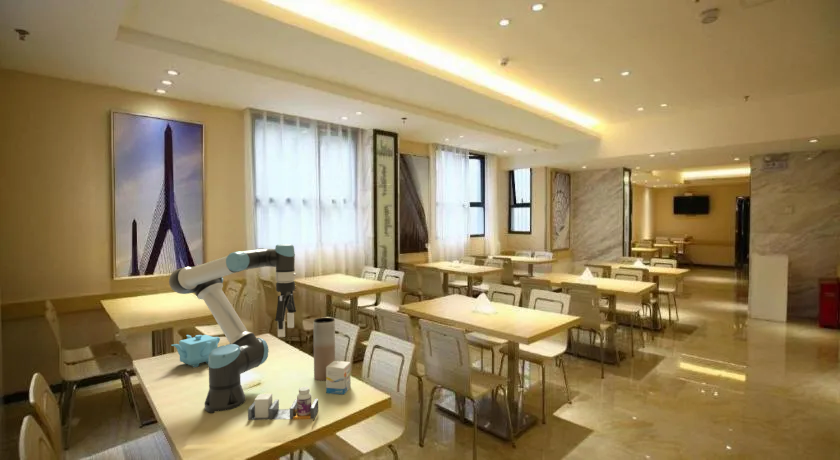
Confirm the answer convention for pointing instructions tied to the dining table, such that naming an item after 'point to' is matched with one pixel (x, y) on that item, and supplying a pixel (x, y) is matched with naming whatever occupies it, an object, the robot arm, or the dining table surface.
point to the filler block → (263, 405)
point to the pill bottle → (304, 401)
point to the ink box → (338, 377)
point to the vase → (323, 346)
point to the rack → (284, 412)
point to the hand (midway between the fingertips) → (286, 332)
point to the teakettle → (196, 349)
